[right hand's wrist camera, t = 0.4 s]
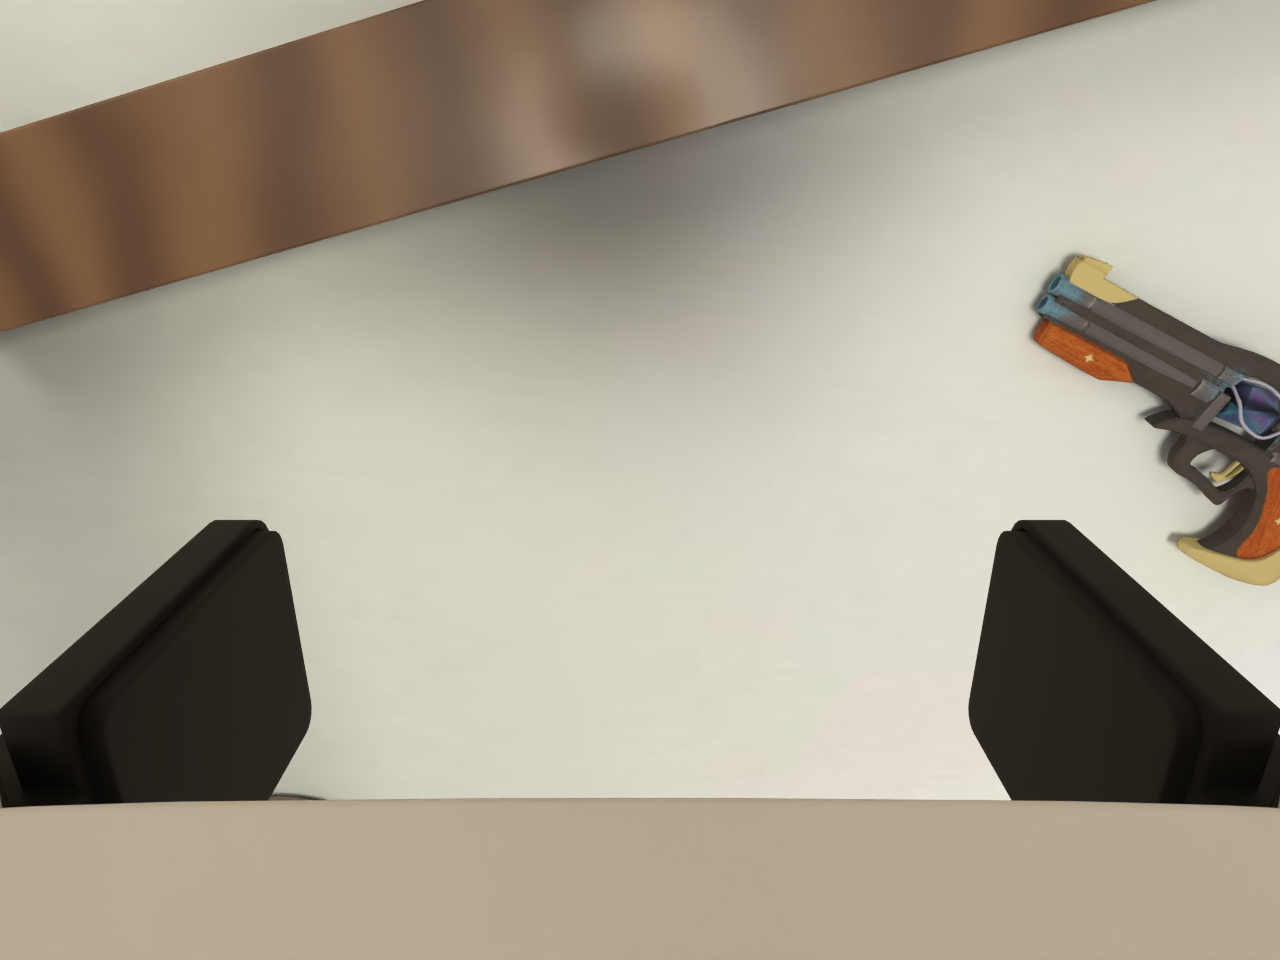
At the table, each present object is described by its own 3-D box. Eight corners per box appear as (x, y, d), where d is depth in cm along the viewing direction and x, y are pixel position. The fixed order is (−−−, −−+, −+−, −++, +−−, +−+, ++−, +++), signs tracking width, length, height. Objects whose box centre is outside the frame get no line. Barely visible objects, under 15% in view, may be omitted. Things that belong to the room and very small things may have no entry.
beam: (1705, -365, 30) (1942, -477, 25) (1670, -150, 33) (1879, -208, 27) (-99, 193, 38) (-227, 203, 32) (-18, 336, 40) (-124, 367, 34)
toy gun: (1274, 605, 42) (1443, 447, 38) (952, 440, 41) (1090, 254, 36) (1245, 575, 45) (1401, 424, 40) (941, 419, 43) (1069, 242, 38)
